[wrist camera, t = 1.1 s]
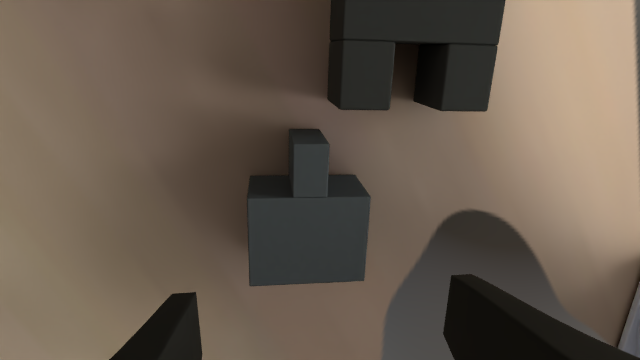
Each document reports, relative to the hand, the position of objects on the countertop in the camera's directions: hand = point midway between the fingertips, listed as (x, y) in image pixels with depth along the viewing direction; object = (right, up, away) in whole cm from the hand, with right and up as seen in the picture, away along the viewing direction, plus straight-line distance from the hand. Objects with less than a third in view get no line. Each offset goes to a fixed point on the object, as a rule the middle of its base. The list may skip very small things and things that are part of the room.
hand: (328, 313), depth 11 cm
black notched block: (+3, +10, +6) cm, 12 cm away
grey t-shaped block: (-1, +3, +8) cm, 8 cm away
